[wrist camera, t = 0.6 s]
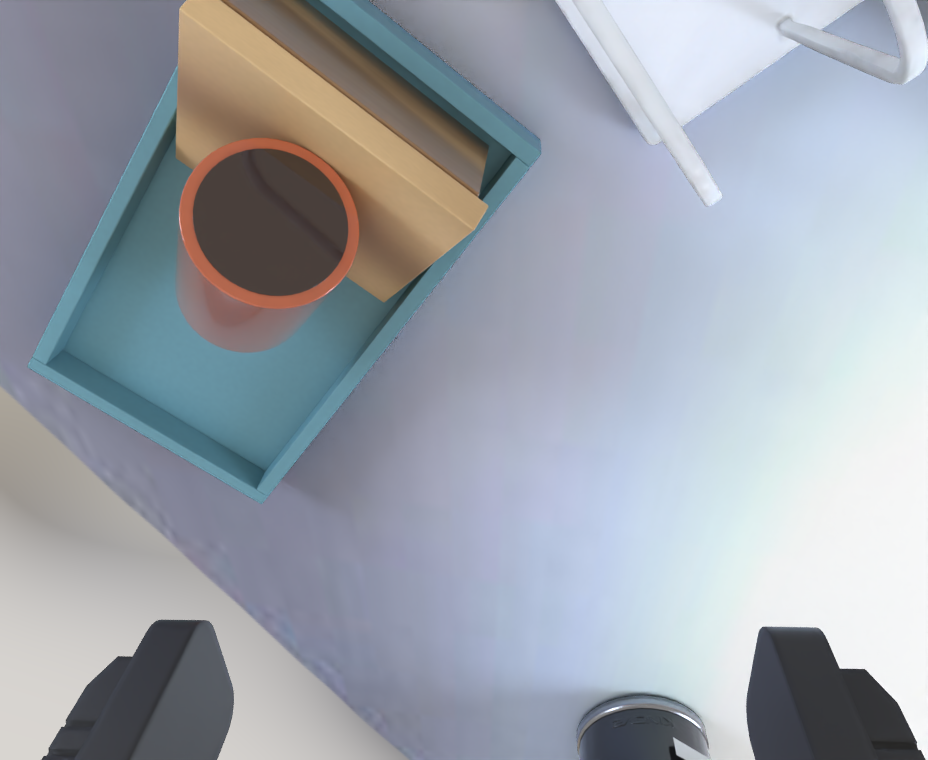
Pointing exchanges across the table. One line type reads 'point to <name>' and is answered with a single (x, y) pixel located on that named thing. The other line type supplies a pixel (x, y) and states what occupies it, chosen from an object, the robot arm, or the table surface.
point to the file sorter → (720, 56)
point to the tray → (223, 371)
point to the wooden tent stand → (332, 126)
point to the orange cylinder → (261, 242)
